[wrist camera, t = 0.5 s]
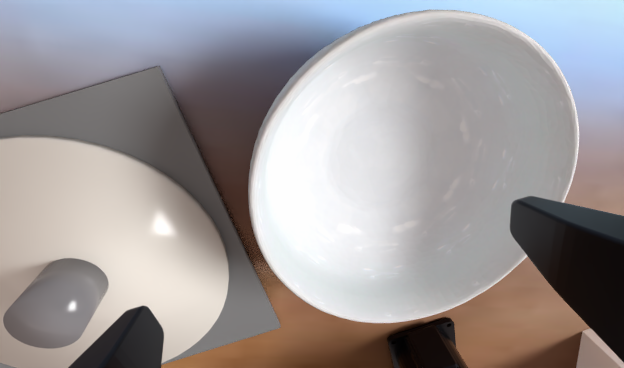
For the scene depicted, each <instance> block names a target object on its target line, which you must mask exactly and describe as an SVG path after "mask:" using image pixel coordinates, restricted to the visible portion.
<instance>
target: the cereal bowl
mask: <svg viewBox="0 0 624 368" xmlns="http://www.w3.org/2000/svg"><path fill="white" fill-rule="evenodd" d="M578 149H579V125H578V117H577V111H576V107H575V102H574V99H573V96H572V93H571V90H570V87H569V85H568V83H567V81H566V79H565V77H564V75H563V73H562V72H561V70H560V68H559V67H558V65H557V64H556V62H555V61H554V60H553V58H552V57H551V56H550V55H549V54H548V53H547V52H546V51H545V49H544V48H543V47H541V46H540V45H539V44H538V43H537V42H536V41H534V40H533V39H532V38H530V37H529V36H528V35H526V34H525V33H523V32H521V31H520V30H518V29H516V28H515V27H513V26H511V25H509V24H507V23H504V22H502V21H499V20H497V19H494V18H491V17H487V16H484V15H481V14H476V13H471V12H464V11H457V10H425V11H417V12H410V13H404V14H400V15H394V16H392V17H387V18H385V19H380V20H378V21H374V22H372V23H370V24H367V25H364V26H362V27H359V28H357V29H356V30H354V31H351V32H350V33H348V34H345V35H343V36H342V37H340V38H338V39H336V40H335V41H334V42H333V43H331V44H329V45H327V46H325V47H324V48H323V49H322V50H320V51H319V52H317V53H316V54H315V55H314V56H313V57H312V58H310V59H309V60H307V61H306V63H305V64H304V65H303V66H302V67H300V68H299V70H298V71H297V72H296V73H295V74H294V75H293V76H292V77H291V78H290V79H289V81H288V83H287V84H286V85H285V86H284V87H283V89H282V91H281V92H280V93H279V94H278V95H277V97H276V99H275V100H274V102H273V104H272V106H271V107H270V109H269V111H268V113H267V115H266V117H265V119H264V121H263V124H262V126H261V128H260V130H259V133H258V137H257V139H256V142H255V145H254V150H253V154H252V159H251V162H250V172H249V185H248V197H249V212H250V217H251V223H252V228H253V232H254V235H255V238H256V241H257V244H258V246H259V248H260V251H261V253H262V255H263V257H264V258H265V260H266V262H267V263H268V265H269V267H270V268H271V270H272V271H273V272H274V274H275V275H276V276H277V277H278V278H279V279H280V280H281V282H282V283H283V284H284V285H285V286H286V287H287V288H289V289H290V290H291V291H292V292H293V293H294V294H295V295H297V296H298V297H299V298H301V299H302V300H304V301H305V302H306V303H308V304H310V305H312V306H313V307H315V308H317V309H319V310H321V311H323V312H326V313H328V314H331V315H334V316H337V317H341V318H345V319H349V320H353V321H359V322H369V323H395V322H404V321H410V320H415V319H420V318H424V317H428V316H431V315H435V314H438V313H441V312H444V311H447V310H449V309H451V308H454V307H456V306H458V305H461V304H463V303H465V302H467V301H469V300H470V299H472V298H474V297H476V296H477V295H479V294H481V293H482V292H484V291H486V290H487V289H489V288H490V287H492V286H493V285H494V284H496V283H497V282H499V281H500V280H501V279H502V278H504V277H505V276H506V275H507V274H509V273H510V272H511V271H512V270H513V269H514V268H515V267H516V266H517V265H518V264H519V263H520V262H522V261H523V260H524V259H525V258H526V257H527V255H526V253H525V252H524V251H523V250H522V248H521V247H520V246H519V244H518V243H517V242H516V241H515V239H514V238H513V236H512V235H511V232H510V214H511V204H512V202H513V201H514V200H516V199H520V198H523V197H527V196H535V197H539V198H544V199H548V200H553V201H558V202H562V203H564V201H565V198H566V195H567V193H568V191H569V188H570V186H571V183H572V179H573V176H574V172H575V168H576V163H577V156H578Z"/></svg>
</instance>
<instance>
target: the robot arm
mask: <svg viewBox="0 0 624 368" xmlns="http://www.w3.org/2000/svg"><path fill="white" fill-rule="evenodd" d="M510 232H511V235H512V236H513V238H514V239H515V241H516V242H517V243H518V244H519V246H520V247H521V248H522V250H523V251H524V252H525V253H526V255H527V256H528V257H529V258H530V260H531V261H532V262H533V264H534V265H535V266H536V267H537V269H538V270H539V271H540V272H541V274H542V275H543V276H544V278H545V279H546V280H547V281H548V283H549V284H550V285H551V286H552V287H553V288H554V290H555V291H556V292H557V293H558V294H559V295H560V296H561V297H562V298H563V300H564V301H565V302H566V303H567V304H568V305H569V306H570V307H571V308H572V309H573V310H574V311H575V312H576V313H577V314H578V315H579V316H580V317H581V318H582V320H583V321H584V322H585V323H586V324H587V325H588V326H589V327H590V328H591V329H592V330H593V331H594V332H595V333H596V334H597V335H598V336H599V337H600V338H601V339H602V341H603V342H604V343H605V344H606V345H607V346H608V347H609V348H610V349H611V350H612V351H613V352H614V353H615V354H616V355H617V356H618V357H619V358H620V359H621V360H622V361H623V363H624V216H621V215H617V214H612V213H608V212H603V211H598V210H594V209H589V208H585V207H580V206H576V205H571V204H567V203H562V202H558V201H553V200H548V199H544V198H539V197H535V196H527V197H523V198H520V199H516V200H514V201H513V202H512V204H511V214H510ZM387 341H388V345H389V350H390V354H391V358H392V363H393V367H394V368H468V367H467V365H466V364H465V362H464V360H463V359H462V357H461V356H460V354H459V352H458V351H457V349H456V343H455V330H454V322H453V321H452V319H450V318H446V319H443V320H440V321H437V322H433V323H430V324H427V325H424V326H421V327H417V328H414V329H411V330H408V331H405V332H401V333H398V334H395V335H392V336H390V337H388V339H387ZM163 344H164V331H163V328H162V326H161V325H160V323H159V322H158V320H157V319H156V317H155V316H154V314H153V313H152V311H151V310H150V309H149V307H147V306H139V307H135V308H132V309H129V310H127V311H125V312H124V313H123V314H122V315H121V316H120V317H119V318H118V319H117V320H116V321H115V322H114V323H113V324H112V325H111V326H110V327H109V328H108V329H107V330H106V331H105V332H104V333H103V334H102V335H101V336H100V337H99V338H98V339H97V340H96V341H95V342H94V343H93V344H92V345H91V346H90V347H89V348H88V349H87V350H86V351H84V352H83V353H82V354H81V355H80V356H79V357H78V358H77V359H76V360H75V361H74V362H73V363H72V364H71V365H70V366H69V367H68V368H161V363H162V353H163Z"/></svg>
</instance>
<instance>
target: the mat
mask: <svg viewBox="0 0 624 368" xmlns="http://www.w3.org/2000/svg"><path fill="white" fill-rule="evenodd" d="M20 135H45V136H57V137H65V138H73V139H79V140H83V141H87V142H92V143H96V144H100V145H104V146H106V147H109V148H112V149H115V150H118V151H121V152H124V153H127V154H129V155H131V156H133V157H135V158H137V159H139V160H142V161H144V162H146V163H148V164H150V165H151V166H153V167H155V168H156V169H158V170H160V171H161V172H163V173H165V174H166V175H168V176H169V177H170V178H172V179H173V180H174V181H176V182H177V183H178V184H180V185H181V186H182V187H184V188H185V189H186V190H187V191H188V192H189V193H190V194H191V195H192V196H193V197H194V198H195V199H196V200H197V201H198V202H199V203H200V204H201V205H202V207H203V208H204V209H205V210H206V212H207V213H208V214H209V215H210V217H211V218H212V220H213V222H214V223H215V225H216V227H217V228H218V230H219V232H220V234H221V237H222V239H223V241H224V244H225V247H226V251H227V255H228V260H229V282H228V291H227V296H226V300H225V303H224V307H223V309H222V311H221V313H220V315H219V317H218V319H217V320H216V322H215V323H214V325H213V326H212V327H211V329H210V330H209V331H208V332H207V333H206V334H205V335H204V336H203V337H202V338H201V339H200V340H199V341H198V342H197V343H196V344H194V345H193V346H192V347H191V348H189V349H188V350H186V351H184V352H183V353H181V354H180V355H178V356H176V357H174V358H172V359H170V360H168V361H166V362H164V363H161V365H162V364H166V363H169V362H172V361H175V360H178V359H182V358H185V357H188V356H191V355H194V354H198V353H201V352H204V351H207V350H210V349H214V348H217V347H220V346H223V345H227V344H230V343H233V342H236V341H239V340H243V339H246V338H249V337H252V336H255V335H259V334H262V333H265V332H268V331H271V330H275V329H278V328H280V322H279V320H278V318H277V316H276V314H275V312H274V310H273V307H272V305H271V303H270V301H269V299H268V297H267V295H266V292H265V290H264V288H263V286H262V284H261V282H260V280H259V277H258V275H257V273H256V271H255V269H254V267H253V265H252V262H251V260H250V258H249V256H248V254H247V252H246V250H245V248H244V245H243V243H242V241H241V239H240V237H239V235H238V233H237V230H236V228H235V226H234V224H233V222H232V220H231V218H230V215H229V213H228V211H227V209H226V207H225V205H224V203H223V200H222V198H221V196H220V194H219V192H218V190H217V188H216V186H215V183H214V181H213V179H212V177H211V175H210V173H209V171H208V168H207V166H206V164H205V162H204V160H203V158H202V156H201V153H200V151H199V149H198V147H197V145H196V143H195V141H194V139H193V136H192V134H191V132H190V130H189V128H188V126H187V124H186V121H185V119H184V117H183V115H182V113H181V111H180V109H179V106H178V104H177V102H176V100H175V98H174V96H173V94H172V91H171V89H170V87H169V85H168V83H167V81H166V79H165V77H164V74H163V72H162V70H161V68H160V66H158V67H154V68H151V69H148V70H144V71H141V72H138V73H134V74H131V75H128V76H124V77H121V78H118V79H115V80H111V81H108V82H105V83H101V84H98V85H95V86H91V87H88V88H85V89H81V90H78V91H75V92H71V93H68V94H65V95H61V96H58V97H55V98H51V99H48V100H45V101H42V102H38V103H35V104H32V105H28V106H25V107H22V108H18V109H15V110H12V111H8V112H5V113H2V114H0V137H10V136H20ZM0 368H16V367H13V366H9V365H6V364H3V363H0Z"/></svg>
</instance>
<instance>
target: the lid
mask: <svg viewBox="0 0 624 368" xmlns="http://www.w3.org/2000/svg"><path fill="white" fill-rule="evenodd" d="M228 282H229V260H228V255H227V251H226V247H225V244H224V241H223V239H222V237H221V234H220V232H219V230H218V228H217V227H216V225H215V223H214V222H213V220H212V218H211V217H210V215H209V214H208V213H207V212H206V210H205V209H204V208H203V207H202V205H201V204H200V203H199V202H198V201H197V200H196V199H195V198H194V197H193V196H192V195H191V194H190V193H189V192H188V191H187V190H186V189H185V188H184V187H182V186H181V185H180V184H178V183H177V182H176V181H174V180H173V179H172V178H170V177H169V176H168V175H166V174H165V173H163V172H161V171H160V170H158V169H156V168H155V167H153V166H151V165H150V164H148V163H146V162H144V161H142V160H139V159H137V158H135V157H133V156H131V155H129V154H127V153H124V152H121V151H118V150H115V149H112V148H109V147H106V146H104V145H100V144H96V143H92V142H87V141H83V140H79V139H73V138H65V137H57V136H45V135H20V136H10V137H0V363H3V364H6V365H9V366H13V367H16V368H68V367H69V366H70V365H71V364H72V363H73V362H74V361H75V360H76V359H77V358H78V357H79V356H80V355H81V354H82V353H83V352H84V351H86V350H87V349H88V348H89V347H90V346H91V345H92V344H93V343H94V342H95V341H96V340H97V339H98V338H99V337H100V336H101V335H102V334H103V333H104V332H105V331H106V330H107V329H108V328H109V327H110V326H111V325H112V324H113V323H114V322H115V321H116V320H117V319H118V318H119V317H120V316H121V315H122V314H123V313H124V312H125V311H127V310H129V309H132V308H135V307H139V306H147V307H149V309H150V310H151V311H152V313H153V314H154V316H155V317H156V319H157V320H158V322H159V323H160V325H161V326H162V328H163V331H164V344H163V353H162V363H164V362H166V361H168V360H170V359H172V358H174V357H176V356H178V355H180V354H181V353H183V352H184V351H186V350H188V349H189V348H191V347H192V346H193V345H194V344H196V343H197V342H198V341H199V340H200V339H201V338H202V337H203V336H204V335H205V334H206V333H207V332H208V331H209V330H210V329H211V327H212V326H213V325H214V323H215V322H216V320H217V319H218V317H219V315H220V313H221V311H222V309H223V307H224V303H225V300H226V296H227V291H228Z"/></svg>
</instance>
